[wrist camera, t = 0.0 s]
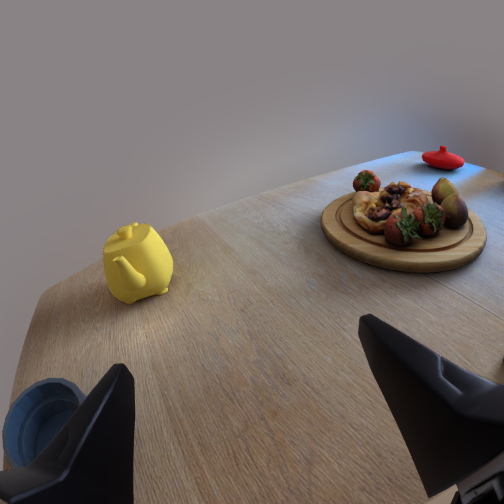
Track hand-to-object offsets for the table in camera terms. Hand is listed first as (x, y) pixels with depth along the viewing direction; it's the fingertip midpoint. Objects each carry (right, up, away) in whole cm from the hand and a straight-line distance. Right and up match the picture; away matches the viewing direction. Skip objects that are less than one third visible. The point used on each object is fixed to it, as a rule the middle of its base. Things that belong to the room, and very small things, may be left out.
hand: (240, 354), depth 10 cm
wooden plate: (+28, +8, +37) cm, 47 cm away
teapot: (-16, -3, +34) cm, 38 cm away
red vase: (+64, +32, +65) cm, 97 cm away
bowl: (-19, -17, +9) cm, 27 cm away
